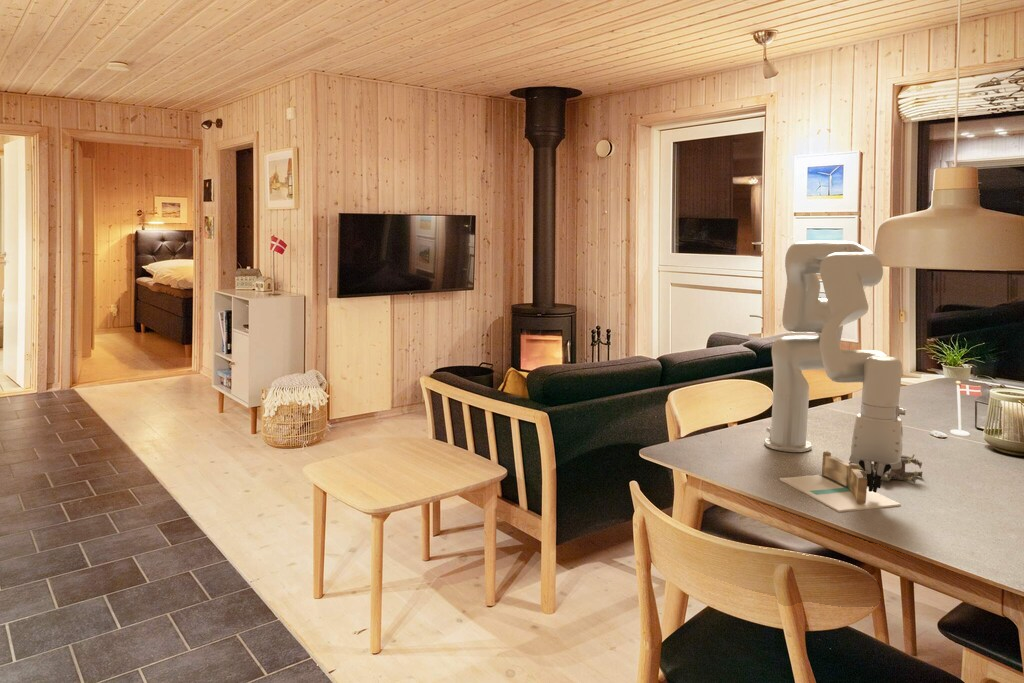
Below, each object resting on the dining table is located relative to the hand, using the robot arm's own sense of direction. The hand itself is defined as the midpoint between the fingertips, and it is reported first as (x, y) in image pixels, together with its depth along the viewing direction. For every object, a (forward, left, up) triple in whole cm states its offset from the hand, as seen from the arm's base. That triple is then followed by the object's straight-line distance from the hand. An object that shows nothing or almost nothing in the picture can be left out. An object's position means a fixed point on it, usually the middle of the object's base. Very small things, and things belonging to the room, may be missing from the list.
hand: (872, 490), depth 171 cm
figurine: (-15, +15, -3) cm, 22 cm away
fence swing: (-2, -3, -2) cm, 4 cm away
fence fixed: (-12, 0, -2) cm, 12 cm away
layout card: (-7, -4, -3) cm, 8 cm away
